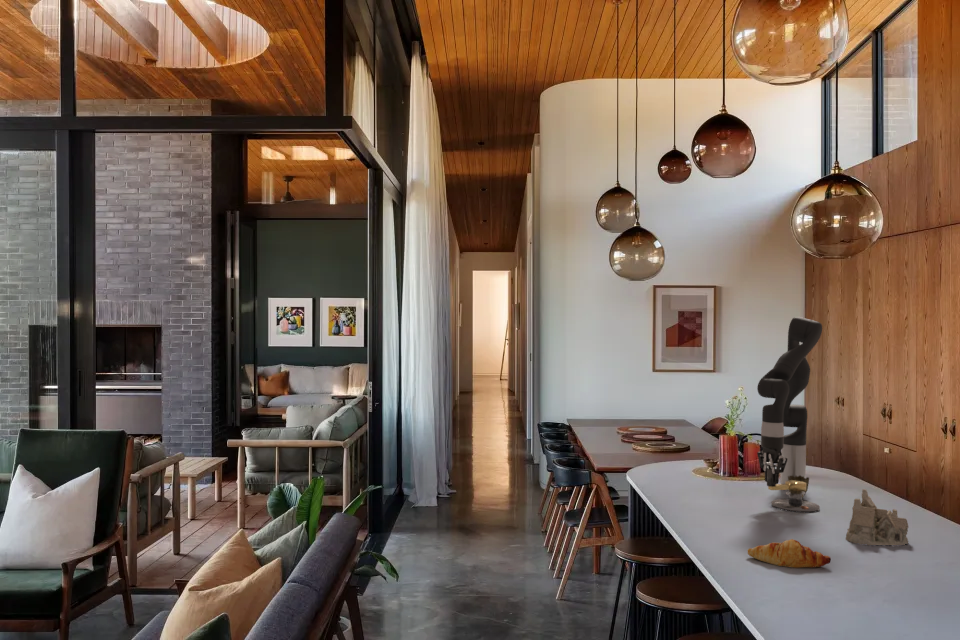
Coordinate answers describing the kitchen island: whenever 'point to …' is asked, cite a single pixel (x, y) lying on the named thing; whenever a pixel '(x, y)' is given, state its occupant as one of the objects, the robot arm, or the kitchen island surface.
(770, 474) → the gold lever handle
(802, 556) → the croissant
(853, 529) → the ceramic cottage
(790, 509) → the post base
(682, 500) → the kitchen island surface
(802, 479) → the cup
